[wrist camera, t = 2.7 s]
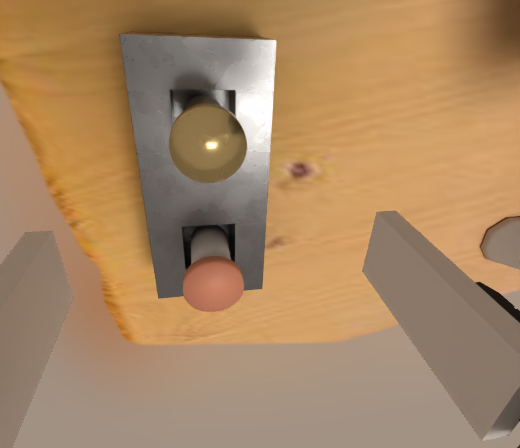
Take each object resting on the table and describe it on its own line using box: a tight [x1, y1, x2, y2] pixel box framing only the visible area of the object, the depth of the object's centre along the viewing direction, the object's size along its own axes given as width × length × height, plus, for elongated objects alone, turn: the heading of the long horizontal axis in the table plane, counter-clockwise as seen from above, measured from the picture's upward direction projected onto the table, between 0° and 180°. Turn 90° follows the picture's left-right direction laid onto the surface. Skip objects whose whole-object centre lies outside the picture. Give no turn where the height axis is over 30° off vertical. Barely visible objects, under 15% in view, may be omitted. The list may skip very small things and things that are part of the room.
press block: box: [119, 32, 276, 298], centre depth 33 cm, size 24×11×6 cm, turn 178°
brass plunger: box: [169, 96, 247, 183], centre depth 25 cm, size 5×5×8 cm
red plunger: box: [183, 225, 244, 312], centre depth 31 cm, size 5×5×8 cm
